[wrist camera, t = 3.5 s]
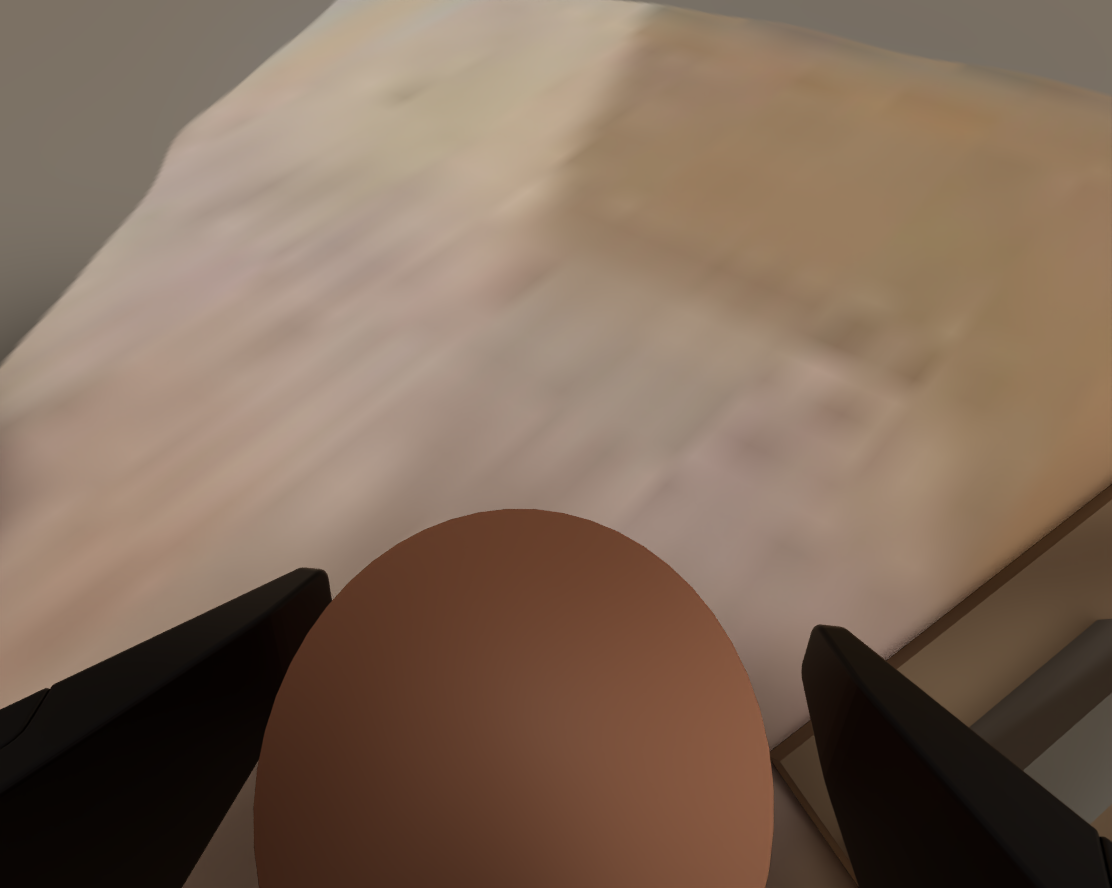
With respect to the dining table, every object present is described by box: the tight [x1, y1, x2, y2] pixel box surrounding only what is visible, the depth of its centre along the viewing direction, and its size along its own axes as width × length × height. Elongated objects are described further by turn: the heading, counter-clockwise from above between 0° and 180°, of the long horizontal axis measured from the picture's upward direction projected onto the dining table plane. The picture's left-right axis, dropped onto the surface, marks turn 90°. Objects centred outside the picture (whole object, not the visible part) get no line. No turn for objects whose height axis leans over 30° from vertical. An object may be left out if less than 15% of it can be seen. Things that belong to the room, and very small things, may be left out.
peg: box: [254, 509, 774, 888], centre depth 9 cm, size 4×4×11 cm
